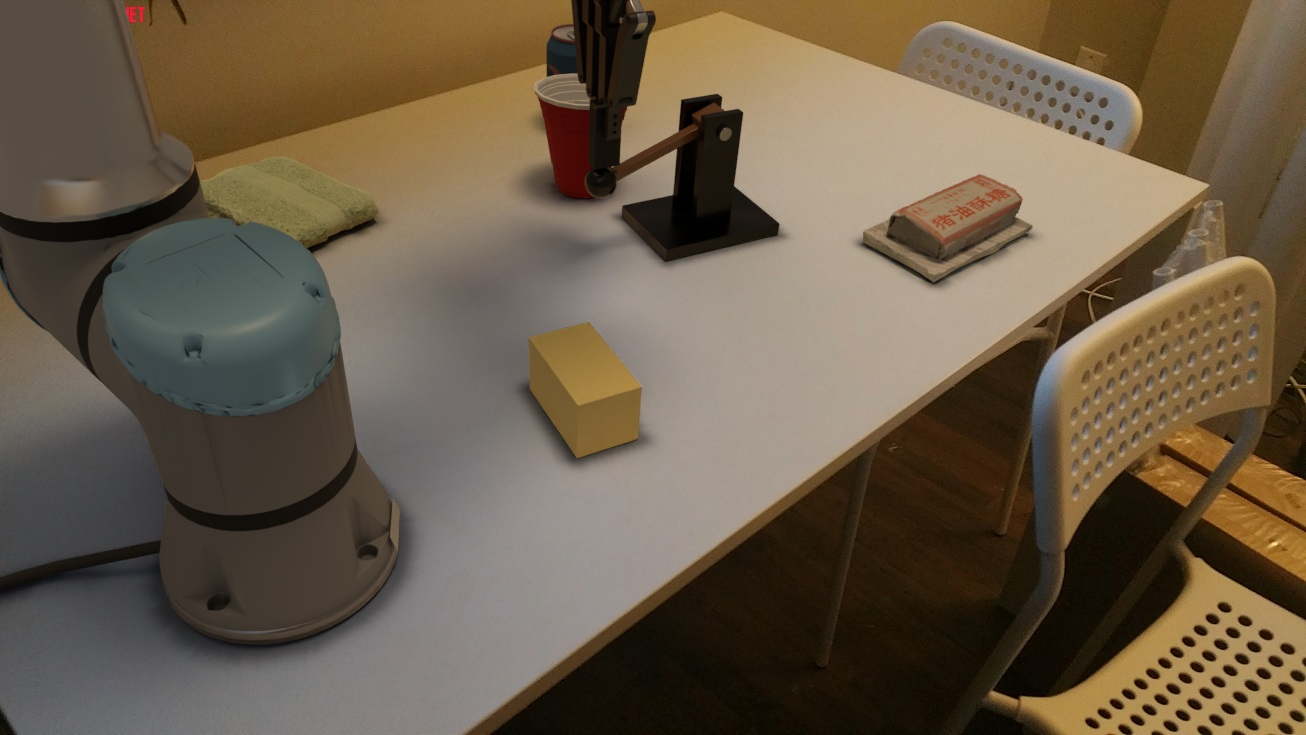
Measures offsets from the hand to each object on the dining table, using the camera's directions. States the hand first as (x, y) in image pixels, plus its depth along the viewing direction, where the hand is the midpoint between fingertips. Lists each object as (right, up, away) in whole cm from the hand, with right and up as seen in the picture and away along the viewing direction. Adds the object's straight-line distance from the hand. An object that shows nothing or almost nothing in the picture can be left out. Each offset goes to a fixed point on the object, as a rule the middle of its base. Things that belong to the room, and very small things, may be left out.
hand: (604, 164), depth 97 cm
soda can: (-5, +11, +29) cm, 31 cm away
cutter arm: (+5, +1, +3) cm, 6 cm away
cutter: (+10, -5, +11) cm, 15 cm away
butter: (-1, -24, -15) cm, 28 cm away
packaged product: (+37, -6, +12) cm, 39 cm away
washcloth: (-34, -4, +7) cm, 35 cm away
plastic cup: (-3, +1, +16) cm, 17 cm away
